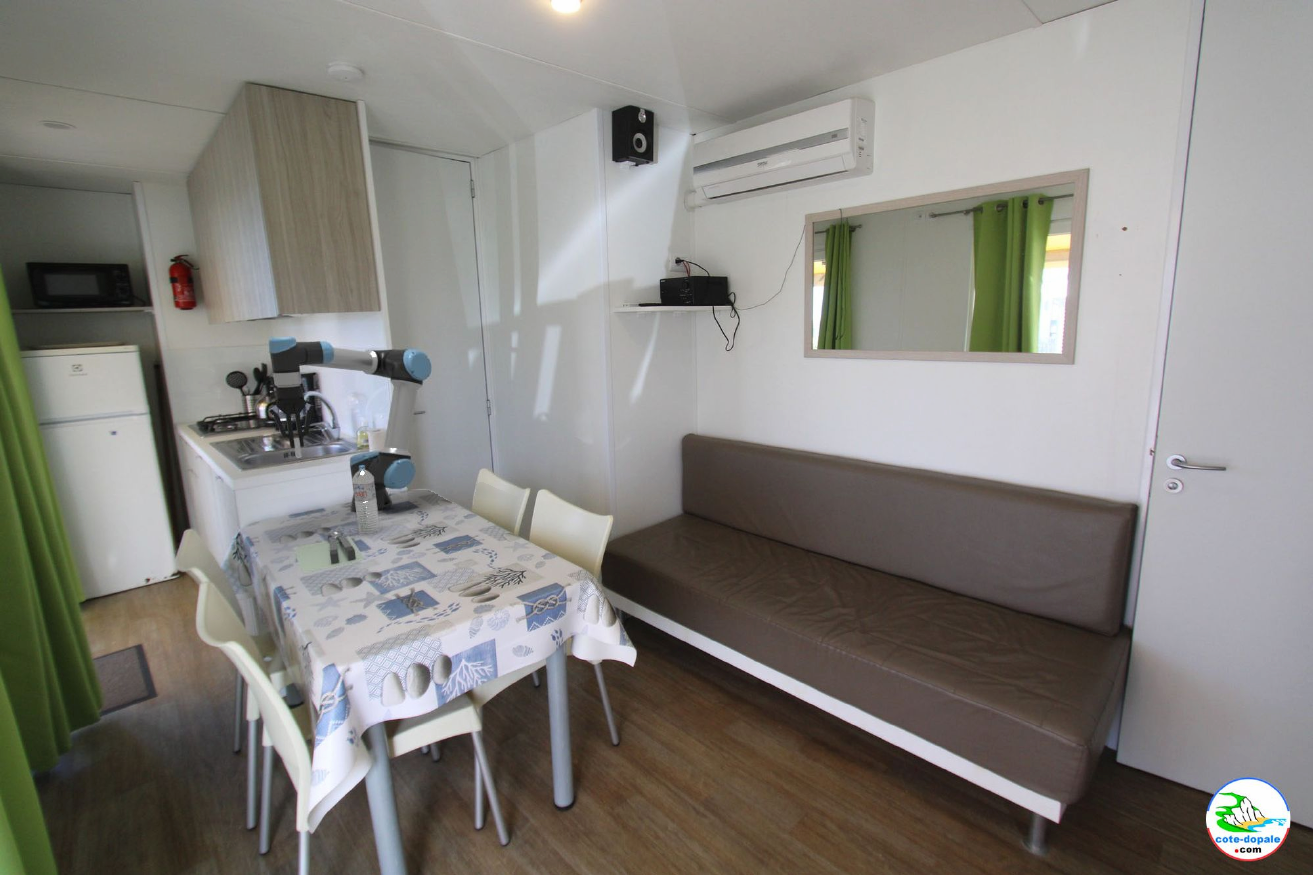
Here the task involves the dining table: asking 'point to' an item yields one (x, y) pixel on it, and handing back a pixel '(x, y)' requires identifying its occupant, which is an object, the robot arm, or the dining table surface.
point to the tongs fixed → (343, 544)
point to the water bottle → (366, 502)
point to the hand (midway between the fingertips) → (298, 457)
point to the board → (322, 556)
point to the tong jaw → (333, 550)
